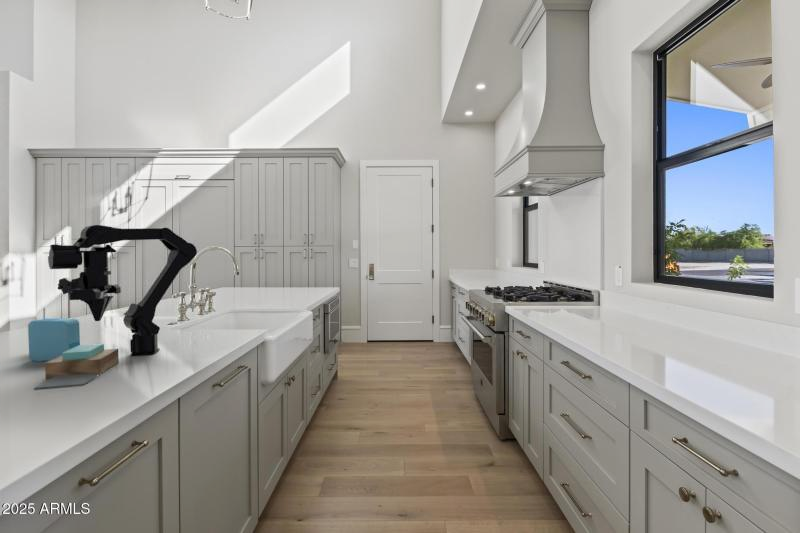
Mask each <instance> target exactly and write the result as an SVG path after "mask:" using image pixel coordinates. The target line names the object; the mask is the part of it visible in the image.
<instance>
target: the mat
mask: <svg viewBox="0 0 800 533" xmlns="http://www.w3.org/2000/svg"><path fill="white" fill-rule="evenodd" d="M99 374H100V373H91V374H78V375H65V376H55V377H53V378H48V380H46V381H44V382H41V384H39V385H37V386H34V388H33V390H43V389H53V388H65V387H66V386H68V387H77V386H76V385H80V386H85V385H87V384H88V383H90V382H91V381H93V380H94V379H96V378H97V377H98V376H97V375H99ZM100 375H101V374H100ZM100 375H99V376H100ZM96 376H97V377H96ZM95 377H96V378H95ZM93 378H94V379H93ZM92 379H93V380H92ZM90 380H91V381H90ZM89 381H90V382H89ZM87 382H88V383H87ZM86 383H87V384H86ZM66 388H67V387H66Z"/></svg>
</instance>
